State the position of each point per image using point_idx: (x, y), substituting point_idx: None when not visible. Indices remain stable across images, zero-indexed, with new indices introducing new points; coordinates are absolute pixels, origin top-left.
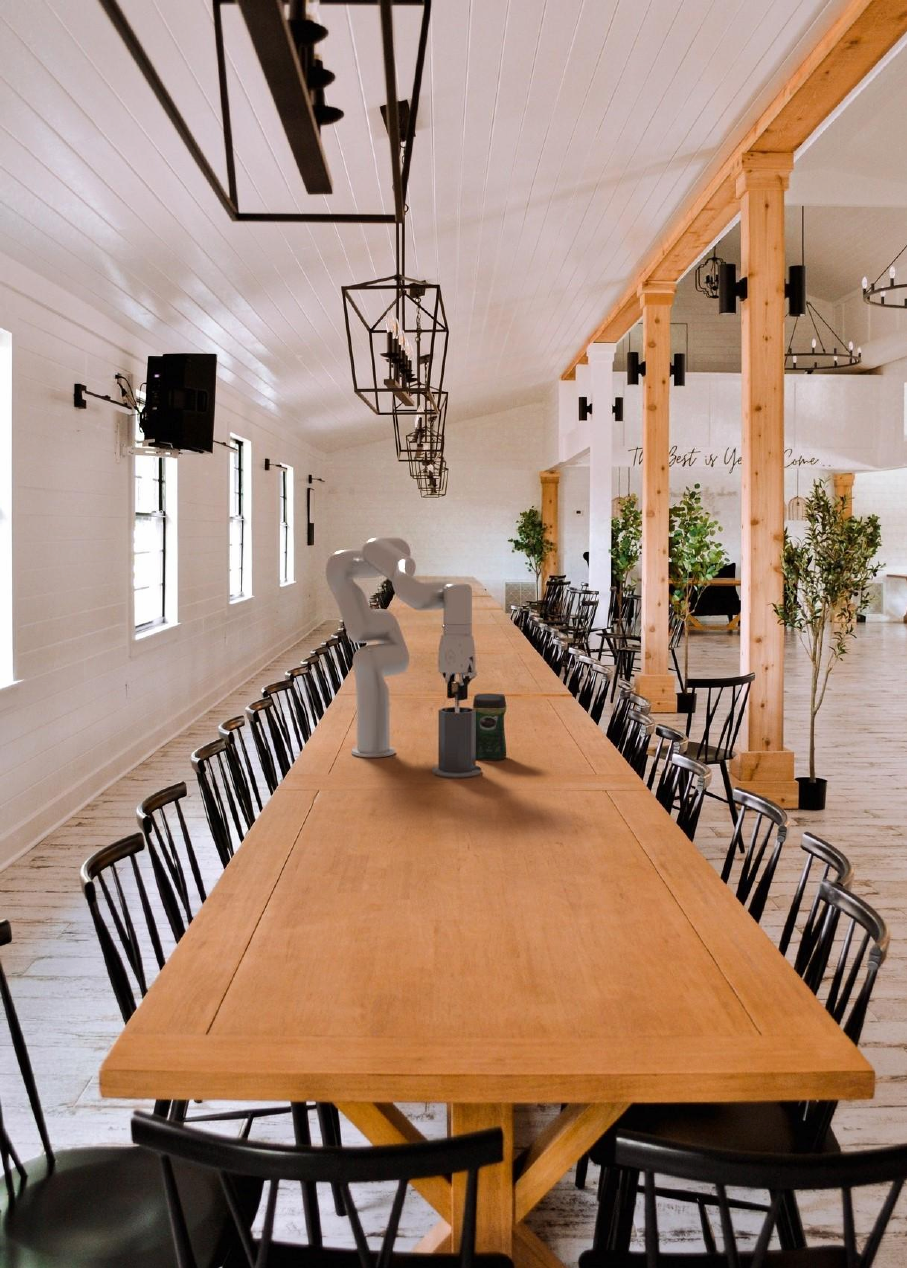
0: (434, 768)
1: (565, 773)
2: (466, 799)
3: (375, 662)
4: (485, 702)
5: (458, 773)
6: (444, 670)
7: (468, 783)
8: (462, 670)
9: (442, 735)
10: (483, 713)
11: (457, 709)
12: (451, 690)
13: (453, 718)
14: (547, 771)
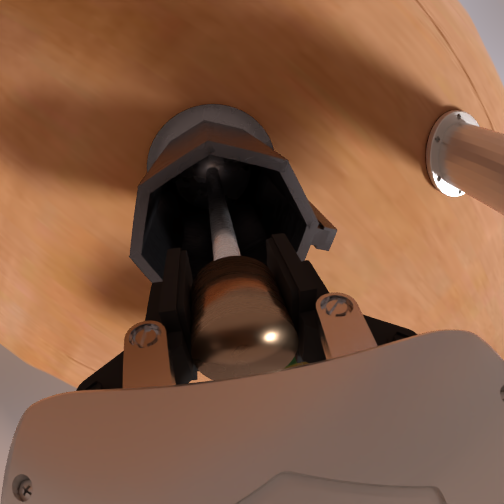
0: (254, 125)
1: (89, 332)
2: (17, 57)
3: None
4: None
5: (168, 141)
6: (381, 356)
7: (107, 125)
8: (19, 424)
9: (224, 132)
10: (291, 364)
11: (213, 235)
12: (260, 272)
13: (164, 163)
14: (113, 321)
